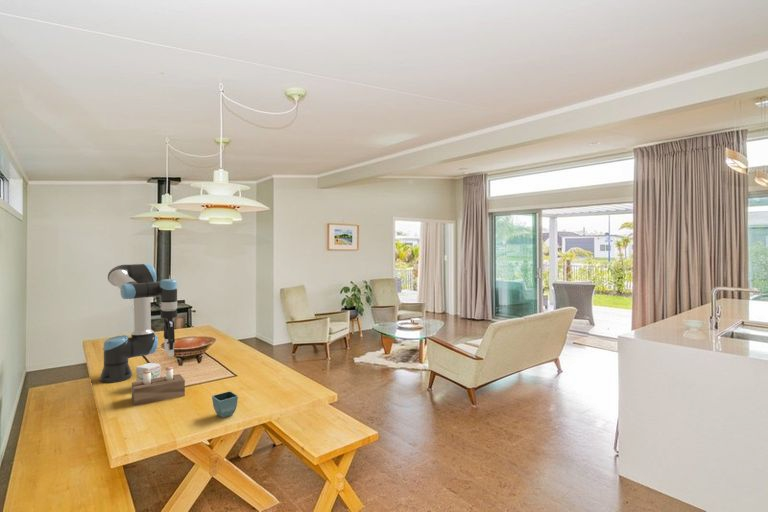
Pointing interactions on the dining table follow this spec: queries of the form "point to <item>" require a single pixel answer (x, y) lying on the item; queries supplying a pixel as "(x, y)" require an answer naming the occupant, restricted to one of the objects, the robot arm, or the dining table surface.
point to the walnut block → (158, 390)
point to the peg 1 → (146, 377)
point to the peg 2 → (169, 373)
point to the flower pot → (225, 403)
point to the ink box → (152, 367)
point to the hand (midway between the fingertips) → (169, 353)
